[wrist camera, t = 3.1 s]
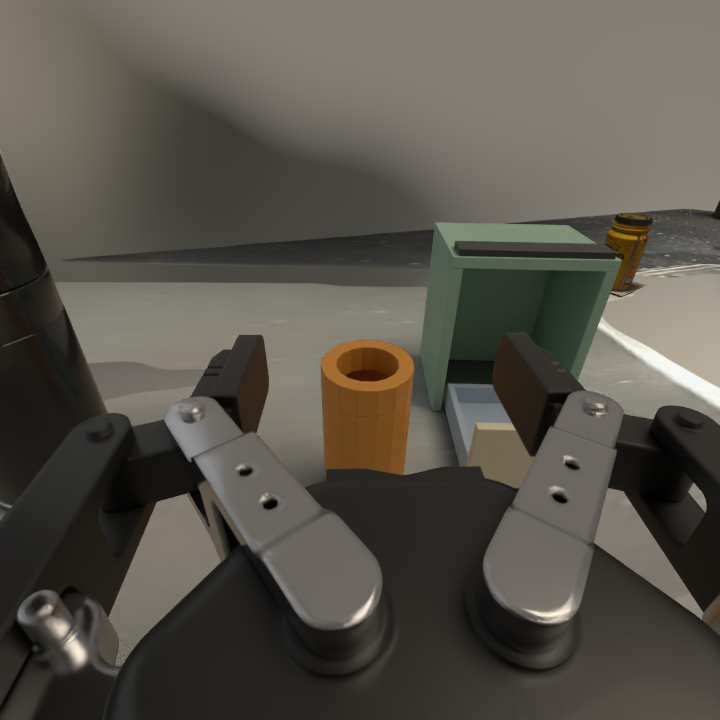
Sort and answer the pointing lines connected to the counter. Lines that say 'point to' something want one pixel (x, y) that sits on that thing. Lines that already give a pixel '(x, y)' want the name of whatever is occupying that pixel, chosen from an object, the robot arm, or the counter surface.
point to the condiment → (628, 248)
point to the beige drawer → (485, 434)
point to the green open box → (512, 294)
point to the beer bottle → (717, 211)
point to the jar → (366, 406)
